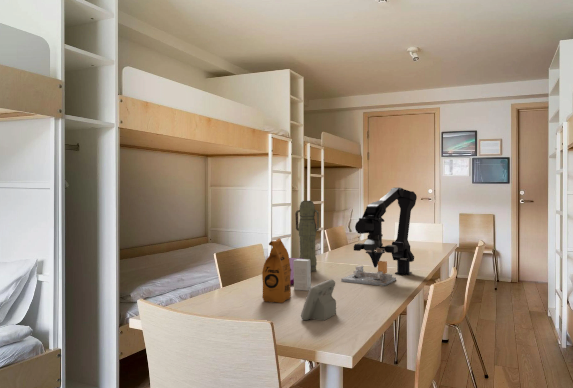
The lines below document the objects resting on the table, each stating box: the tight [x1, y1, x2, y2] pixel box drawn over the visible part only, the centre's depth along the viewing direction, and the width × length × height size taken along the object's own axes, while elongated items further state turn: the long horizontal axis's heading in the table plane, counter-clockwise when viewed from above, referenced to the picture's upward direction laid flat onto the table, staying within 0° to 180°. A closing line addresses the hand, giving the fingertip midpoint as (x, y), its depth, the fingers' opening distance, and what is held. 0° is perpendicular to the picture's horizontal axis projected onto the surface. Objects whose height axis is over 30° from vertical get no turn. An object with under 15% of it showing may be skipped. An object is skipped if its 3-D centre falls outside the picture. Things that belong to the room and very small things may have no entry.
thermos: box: [294, 200, 320, 272], centre depth 226 cm, size 9×12×35 cm
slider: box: [376, 260, 388, 279], centre depth 197 cm, size 7×3×7 cm, turn 148°
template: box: [340, 265, 397, 287], centre depth 197 cm, size 14×20×5 cm
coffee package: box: [261, 238, 292, 304], centre depth 166 cm, size 10×12×22 cm
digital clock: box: [300, 279, 337, 322], centre depth 143 cm, size 16×9×11 cm, turn 139°
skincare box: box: [293, 259, 312, 292], centre depth 182 cm, size 6×4×12 cm
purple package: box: [289, 257, 304, 285], centre depth 198 cm, size 9×8×18 cm
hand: (375, 267), depth 200 cm, fingers closed
